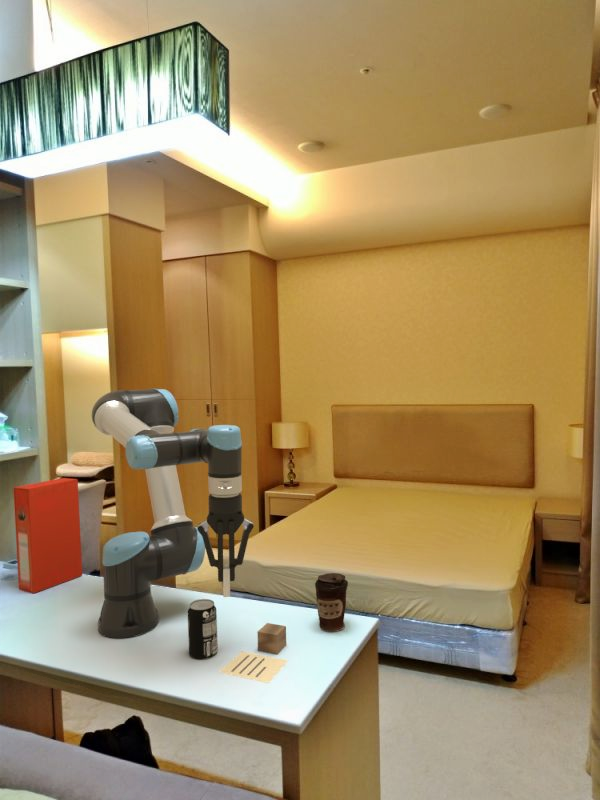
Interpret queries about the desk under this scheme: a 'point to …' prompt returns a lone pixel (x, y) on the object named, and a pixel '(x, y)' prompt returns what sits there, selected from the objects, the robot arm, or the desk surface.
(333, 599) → the coffee cup
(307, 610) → the desk surface
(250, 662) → the letter
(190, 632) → the beverage can
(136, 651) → the desk surface
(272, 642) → the walnut block
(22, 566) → the file binder
